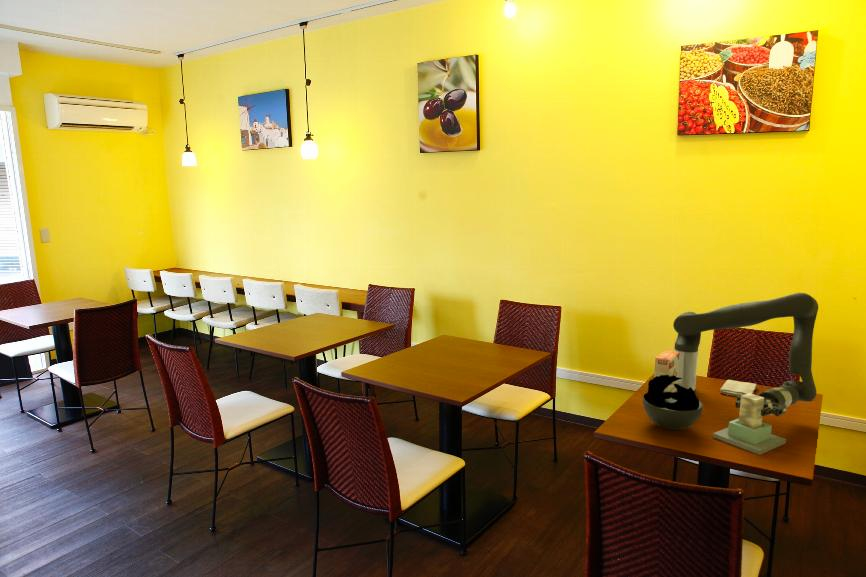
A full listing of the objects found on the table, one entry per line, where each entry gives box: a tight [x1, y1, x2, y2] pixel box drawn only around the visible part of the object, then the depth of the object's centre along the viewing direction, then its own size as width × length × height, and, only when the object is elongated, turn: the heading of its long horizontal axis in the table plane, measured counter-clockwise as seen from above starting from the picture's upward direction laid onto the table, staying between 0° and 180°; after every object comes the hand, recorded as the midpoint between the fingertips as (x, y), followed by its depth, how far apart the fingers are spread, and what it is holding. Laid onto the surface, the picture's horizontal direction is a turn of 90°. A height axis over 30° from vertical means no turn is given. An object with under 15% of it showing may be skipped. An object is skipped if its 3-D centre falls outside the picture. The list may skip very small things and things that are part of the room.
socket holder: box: [712, 417, 787, 456], centre depth 194 cm, size 16×16×6 cm
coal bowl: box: [641, 375, 704, 431], centre depth 204 cm, size 20×20×19 cm
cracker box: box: [653, 349, 680, 392], centre depth 225 cm, size 14×6×21 cm, turn 143°
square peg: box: [738, 393, 764, 429], centre depth 193 cm, size 5×5×14 cm
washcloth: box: [719, 379, 757, 397], centre depth 242 cm, size 12×18×3 cm, turn 145°
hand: (749, 409), depth 192 cm, fingers open, 8 cm apart
